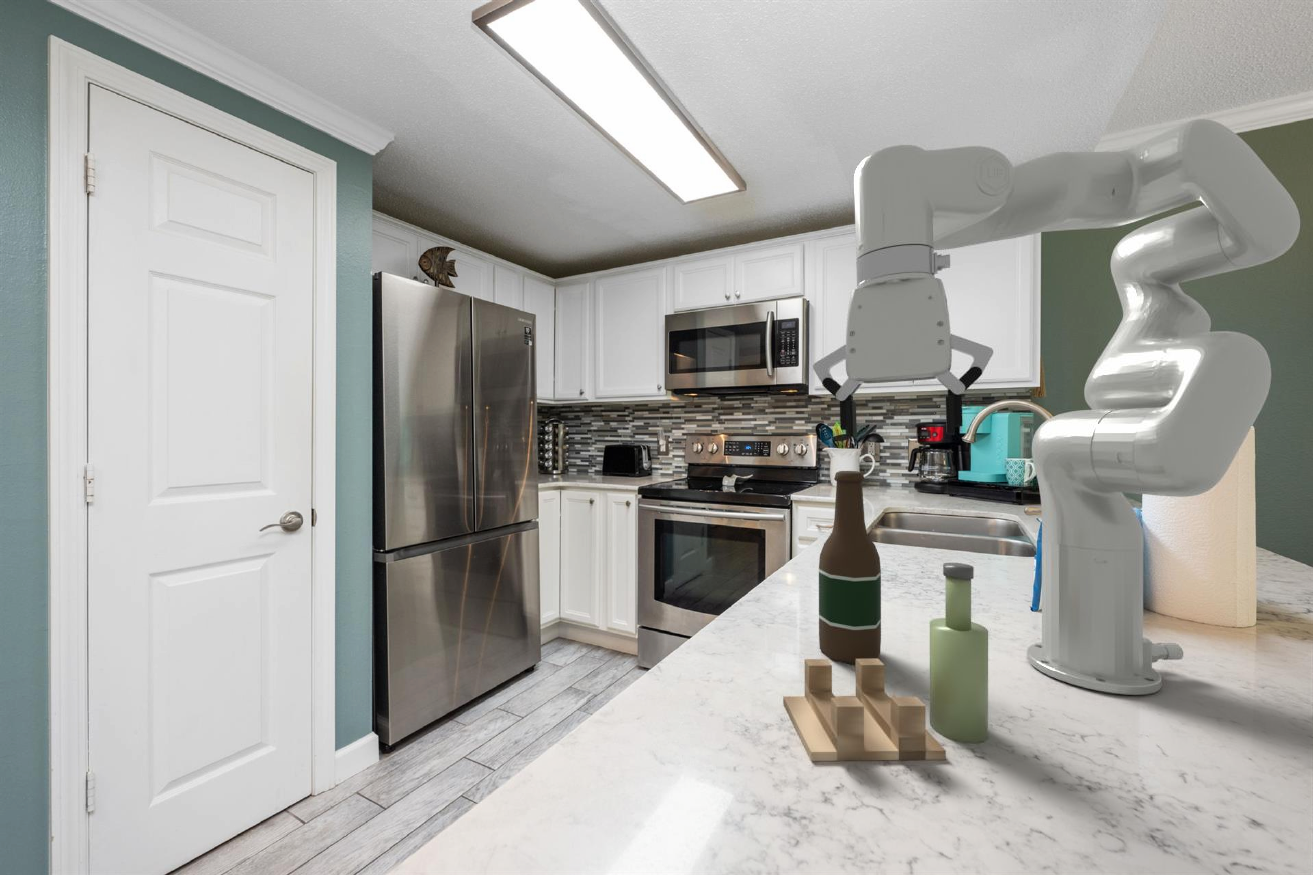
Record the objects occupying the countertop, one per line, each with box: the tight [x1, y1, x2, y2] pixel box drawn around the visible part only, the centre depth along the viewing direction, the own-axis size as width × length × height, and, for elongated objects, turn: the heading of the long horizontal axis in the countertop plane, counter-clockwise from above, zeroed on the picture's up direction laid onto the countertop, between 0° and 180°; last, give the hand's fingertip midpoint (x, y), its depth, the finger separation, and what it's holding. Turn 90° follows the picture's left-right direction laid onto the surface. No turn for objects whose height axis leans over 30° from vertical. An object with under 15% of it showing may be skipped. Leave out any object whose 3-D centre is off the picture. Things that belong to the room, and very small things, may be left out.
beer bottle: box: [818, 470, 882, 666], centre depth 70 cm, size 8×8×24 cm
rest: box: [782, 658, 947, 762], centre depth 52 cm, size 12×10×5 cm
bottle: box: [929, 562, 989, 744], centre depth 53 cm, size 5×5×16 cm
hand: (899, 435), depth 57 cm, fingers open, 9 cm apart
